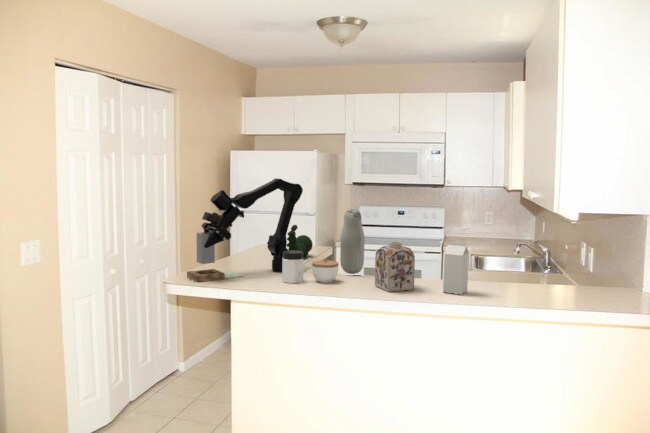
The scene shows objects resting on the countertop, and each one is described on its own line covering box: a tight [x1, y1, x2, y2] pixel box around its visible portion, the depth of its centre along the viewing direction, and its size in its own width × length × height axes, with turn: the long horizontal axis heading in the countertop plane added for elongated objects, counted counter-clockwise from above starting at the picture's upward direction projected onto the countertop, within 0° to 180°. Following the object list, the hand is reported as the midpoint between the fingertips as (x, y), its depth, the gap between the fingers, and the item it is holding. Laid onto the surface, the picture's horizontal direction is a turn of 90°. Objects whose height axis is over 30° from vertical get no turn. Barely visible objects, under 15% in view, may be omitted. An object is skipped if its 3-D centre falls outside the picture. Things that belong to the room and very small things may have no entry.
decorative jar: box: [374, 241, 416, 293], centre depth 225 cm, size 12×12×18 cm
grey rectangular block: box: [196, 231, 216, 265], centre depth 237 cm, size 6×6×12 cm
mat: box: [224, 272, 244, 279], centre depth 245 cm, size 8×8×1 cm
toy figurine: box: [286, 224, 314, 259], centre depth 290 cm, size 9×19×25 cm
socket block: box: [186, 268, 226, 283], centre depth 239 cm, size 12×11×2 cm
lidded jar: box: [311, 258, 339, 284], centre depth 236 cm, size 11×11×9 cm
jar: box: [281, 249, 305, 284], centre depth 235 cm, size 9×8×12 cm
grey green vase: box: [339, 208, 366, 275], centre depth 253 cm, size 10×10×28 cm
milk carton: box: [442, 241, 470, 296], centre depth 220 cm, size 7×7×19 cm
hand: (202, 246), depth 237 cm, fingers closed on grey rectangular block, 5 cm apart
